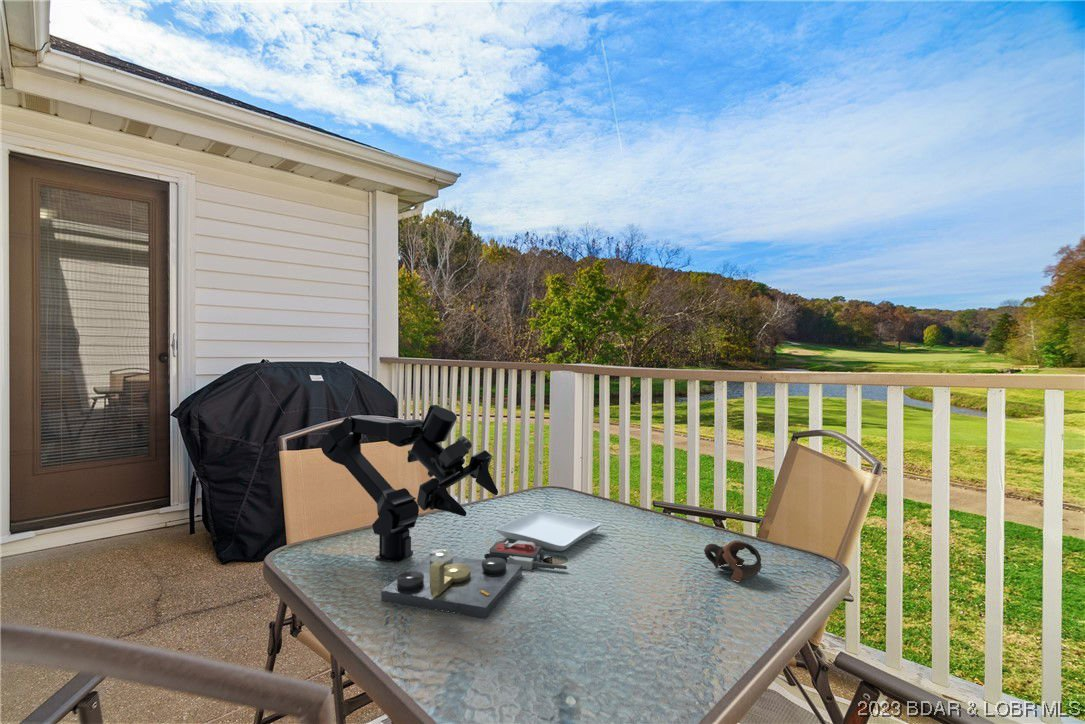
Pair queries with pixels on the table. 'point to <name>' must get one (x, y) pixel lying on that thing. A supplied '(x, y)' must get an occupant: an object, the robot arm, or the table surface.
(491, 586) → the instrument base
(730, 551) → the pottery mug
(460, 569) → the brass knob
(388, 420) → the robot arm
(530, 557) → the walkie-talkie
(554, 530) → the salad plate
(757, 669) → the table surface
